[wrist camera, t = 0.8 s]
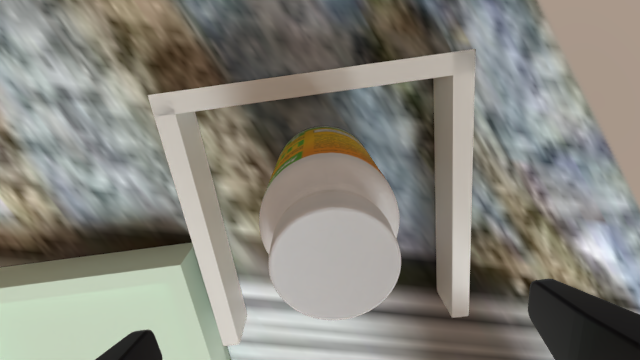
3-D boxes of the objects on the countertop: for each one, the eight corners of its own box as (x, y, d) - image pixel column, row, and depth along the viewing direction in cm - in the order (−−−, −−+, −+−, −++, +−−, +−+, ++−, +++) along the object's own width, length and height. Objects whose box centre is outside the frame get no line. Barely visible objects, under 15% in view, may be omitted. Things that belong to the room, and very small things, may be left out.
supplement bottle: (294, 110, 17) (273, 154, 8) (384, 143, 18) (458, 216, 9) (265, 196, 19) (222, 314, 10) (349, 223, 20) (382, 356, 10)
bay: (451, 288, 21) (468, 315, 19) (233, 316, 22) (223, 346, 19) (451, 52, 17) (475, 48, 14) (170, 92, 17) (147, 95, 14)
